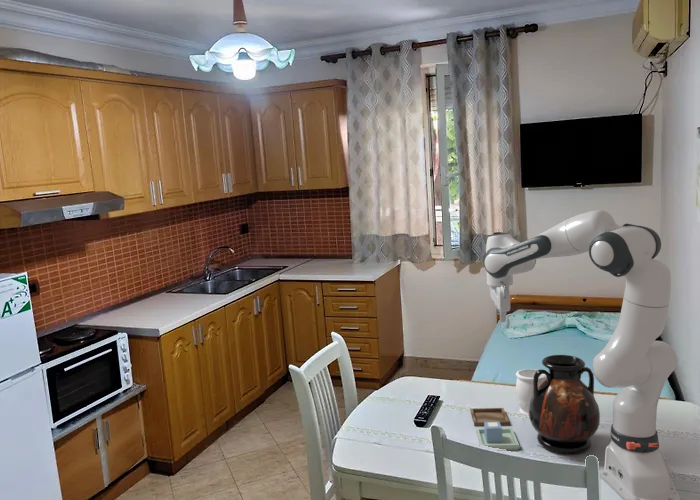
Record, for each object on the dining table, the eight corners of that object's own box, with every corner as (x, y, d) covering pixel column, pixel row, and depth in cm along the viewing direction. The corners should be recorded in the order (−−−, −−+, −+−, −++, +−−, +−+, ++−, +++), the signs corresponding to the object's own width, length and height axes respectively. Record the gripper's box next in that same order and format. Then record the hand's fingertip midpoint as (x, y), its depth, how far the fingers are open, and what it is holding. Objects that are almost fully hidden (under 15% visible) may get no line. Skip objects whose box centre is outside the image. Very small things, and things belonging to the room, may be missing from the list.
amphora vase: (584, 427, 199) (584, 348, 195) (611, 458, 177) (612, 370, 173) (521, 430, 199) (519, 351, 195) (541, 462, 178) (539, 374, 174)
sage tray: (519, 450, 186) (519, 444, 185) (481, 450, 187) (480, 445, 187) (512, 433, 198) (511, 428, 197) (476, 433, 199) (476, 428, 198)
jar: (543, 406, 217) (542, 368, 215) (549, 418, 207) (549, 378, 205) (514, 407, 218) (513, 368, 216) (519, 418, 208) (518, 378, 206)
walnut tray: (509, 427, 202) (509, 422, 202) (474, 427, 203) (474, 422, 203) (503, 412, 214) (503, 407, 214) (470, 413, 215) (470, 408, 215)
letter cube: (502, 442, 190) (502, 427, 189) (486, 443, 190) (486, 428, 190) (499, 435, 195) (499, 420, 194) (484, 436, 195) (484, 421, 195)
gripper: (514, 284, 192) (515, 325, 194) (503, 273, 212) (504, 310, 214) (495, 285, 192) (496, 326, 194) (486, 274, 213) (487, 311, 214)
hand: (500, 317), depth 204 cm, fingers open, 8 cm apart
